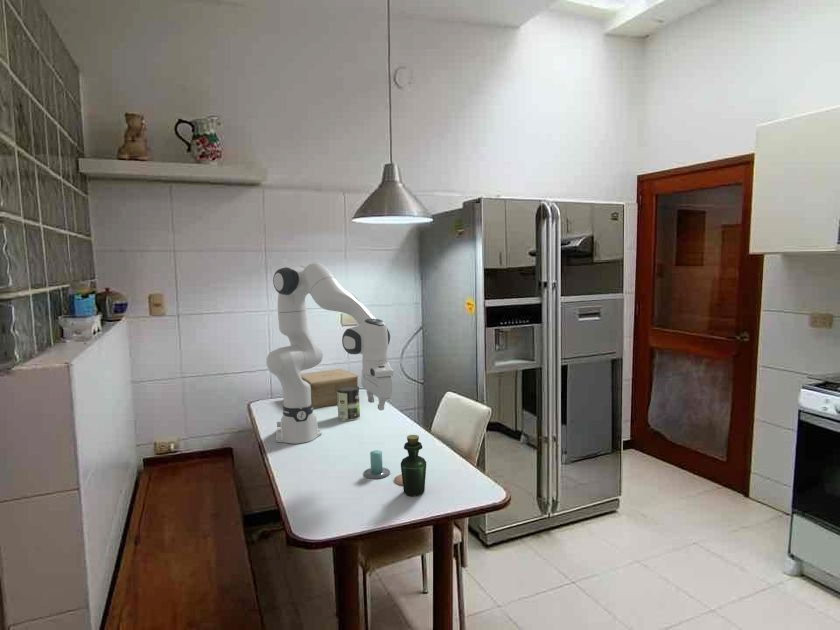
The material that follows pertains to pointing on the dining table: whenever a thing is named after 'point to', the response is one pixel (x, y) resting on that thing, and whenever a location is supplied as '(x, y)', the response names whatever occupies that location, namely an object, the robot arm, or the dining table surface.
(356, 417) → the coffee can
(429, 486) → the dining table surface
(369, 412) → the dining table surface
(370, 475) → the grey flat disc
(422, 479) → the potion bottle
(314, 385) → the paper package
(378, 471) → the marker peg
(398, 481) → the tan round disc
